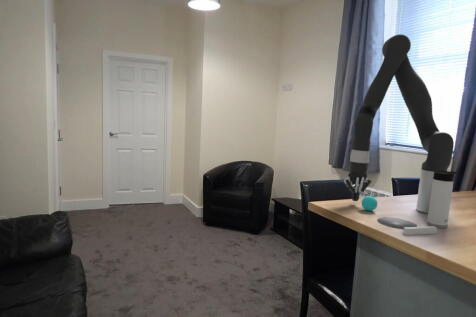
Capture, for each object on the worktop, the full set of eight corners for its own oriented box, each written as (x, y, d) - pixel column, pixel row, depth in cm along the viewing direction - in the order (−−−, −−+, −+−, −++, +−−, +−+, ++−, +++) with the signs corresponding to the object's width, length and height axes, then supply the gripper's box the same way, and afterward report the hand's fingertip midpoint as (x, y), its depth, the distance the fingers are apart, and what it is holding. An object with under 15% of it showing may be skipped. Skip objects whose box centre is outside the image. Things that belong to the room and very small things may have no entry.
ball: (370, 208, 141) (371, 194, 140) (379, 212, 135) (381, 197, 134) (357, 208, 139) (359, 194, 138) (366, 212, 133) (368, 198, 132)
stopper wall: (432, 231, 114) (433, 226, 114) (436, 233, 113) (437, 227, 112) (403, 233, 111) (403, 227, 110) (406, 234, 109) (407, 228, 109)
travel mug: (451, 229, 118) (459, 173, 115) (430, 227, 119) (438, 171, 117) (444, 224, 124) (451, 170, 122) (424, 222, 125) (431, 168, 123)
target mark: (398, 217, 130) (399, 216, 130) (426, 228, 117) (426, 228, 117) (369, 218, 126) (370, 217, 126) (394, 229, 114) (394, 229, 114)
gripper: (350, 161, 138) (346, 203, 140) (378, 162, 142) (373, 202, 144) (340, 159, 145) (336, 198, 147) (367, 160, 149) (362, 198, 151)
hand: (355, 200), depth 146 cm, fingers closed
